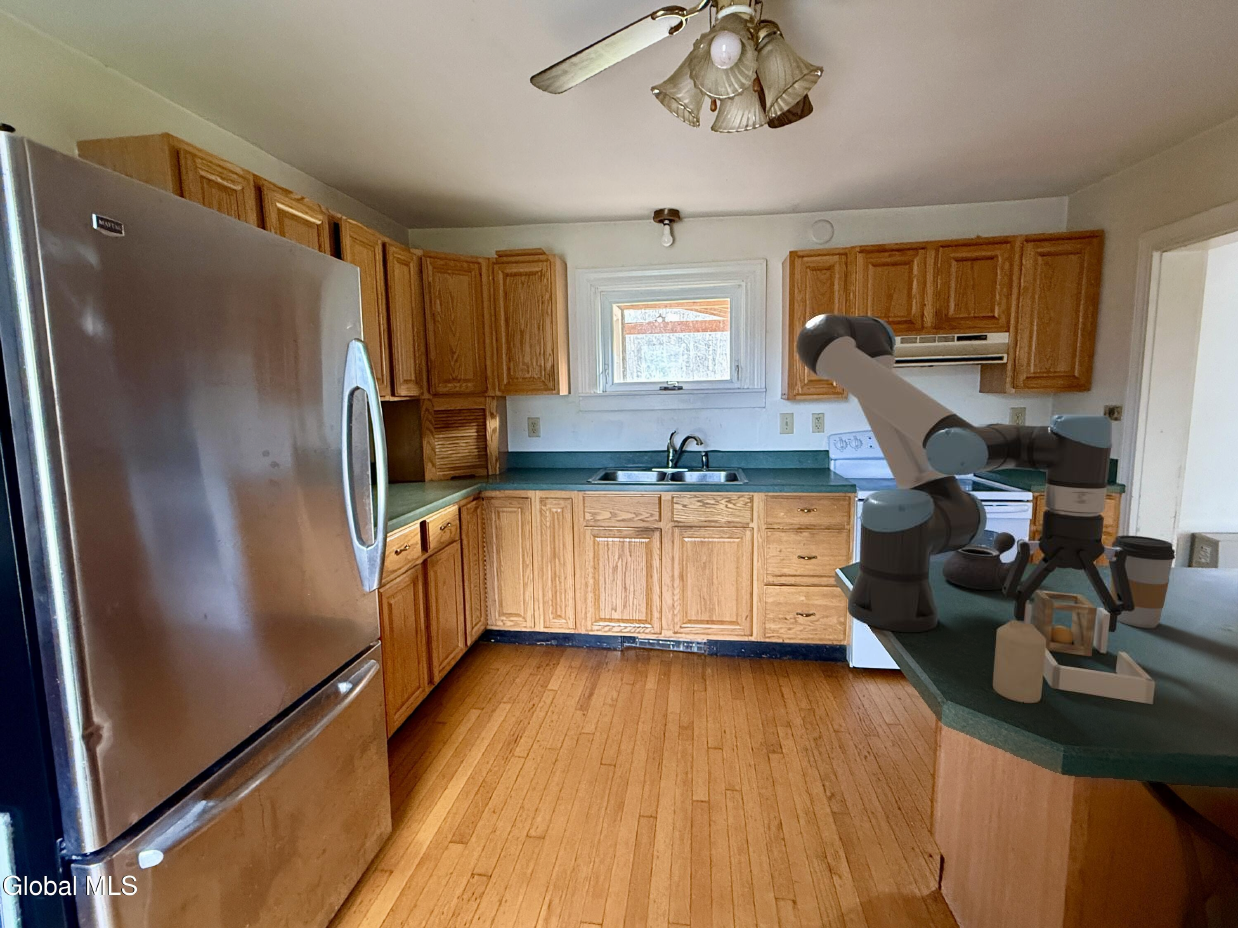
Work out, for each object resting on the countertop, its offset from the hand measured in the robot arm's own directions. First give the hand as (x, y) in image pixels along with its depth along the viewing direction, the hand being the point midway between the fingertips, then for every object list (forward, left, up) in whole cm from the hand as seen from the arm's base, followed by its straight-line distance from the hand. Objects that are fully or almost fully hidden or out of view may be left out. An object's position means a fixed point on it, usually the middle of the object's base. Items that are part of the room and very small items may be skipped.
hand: (1060, 643), depth 90 cm
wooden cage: (0, 0, 0) cm, 0 cm away
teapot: (-5, +31, -1) cm, 32 cm away
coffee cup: (+15, +16, 0) cm, 22 cm away
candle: (-10, -20, 0) cm, 22 cm away
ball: (0, 0, 0) cm, 0 cm away
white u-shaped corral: (0, -12, 0) cm, 12 cm away
